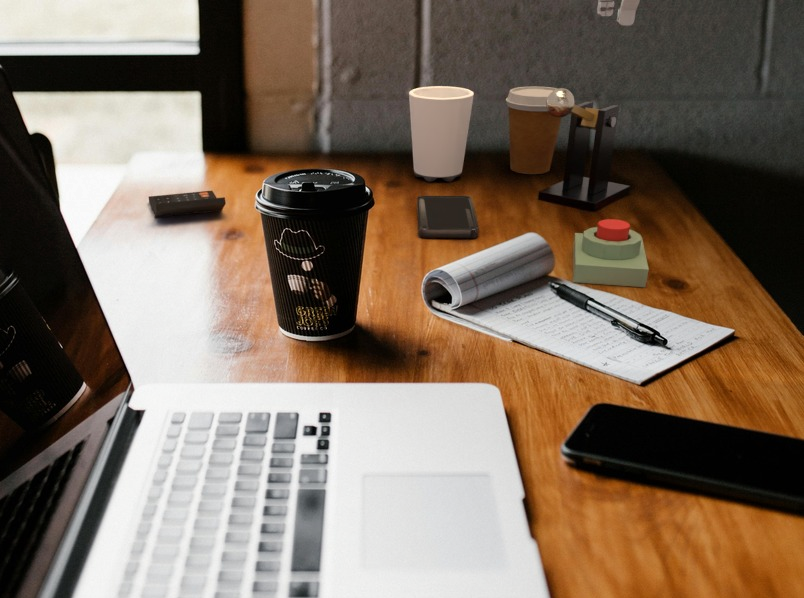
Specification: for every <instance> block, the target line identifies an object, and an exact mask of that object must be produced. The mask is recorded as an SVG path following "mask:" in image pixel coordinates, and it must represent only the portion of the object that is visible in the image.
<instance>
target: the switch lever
mask: <svg viewBox="0 0 804 598" xmlns="http://www.w3.org/2000/svg"><path fill="white" fill-rule="evenodd" d="M577 105H578V104H575V97H574V94H573V93H572V92H571V91H570V90H569V89H567V88H565V87H560V88H557V89H556V90H554V91H552V92H551V93H550V94H549V96H548V98H547V101H546V107H547V110H548V112H549V113H550V114H551V115H552V116H554V117H559V118H560V117H562V118H565V117H566V116H568V115H569V114H570V115H571V114H573V115H575V116H577V117H579V118H581V119H582V122H581V126H584V127H586V128H588V129H590V130H594V131H596V124H597V117H598V110H600V109H598V108H593V109H592V108H585V109H583V108H581V107H579V106H577Z"/></svg>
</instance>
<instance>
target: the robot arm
mask: <svg viewBox="0 0 804 598" xmlns="http://www.w3.org/2000/svg"><path fill="white" fill-rule="evenodd" d="M640 1H641V0H621V2H620V7H619V8H618V9H617V17H616V23H617V24H618V25H619V26H628V27H629V26H630V27H631V26H633V25H634V23H635V19H636V12H637V9H638V8H639V7H638V6H639V4H640ZM615 4H616V3H615V1H614V0H597V9H596V13H597V15H598V16H599V17H611V16H613V14H614V8H615Z"/></svg>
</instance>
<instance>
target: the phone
mask: <svg viewBox="0 0 804 598" xmlns="http://www.w3.org/2000/svg"><path fill="white" fill-rule="evenodd" d="M416 211H417V232H418V233H417V234H418V237H420V238H424V239H475V238H477V237H479V229H480V227H479V226H480V225H479V222H478V219H477V218H478V217H477V214H476V209H475V205H474V201H473V198H472V196H468V195H419V196H417V198H416Z"/></svg>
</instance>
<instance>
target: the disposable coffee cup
mask: <svg viewBox="0 0 804 598" xmlns="http://www.w3.org/2000/svg"><path fill="white" fill-rule="evenodd" d="M556 89H558V88H556V87H549V86H518V87H514V88H510V90H509V92H508V95H507V97H506V99H505V102H506V105H507V109H508V133H509V135H508V136H509V164H510V170H511V171H513V172H515V173H518V174H526V175H540V174H545V173H548V172H549V171H551V170H550V169H551V166H552V161H553V156H554V153H555V148H556V144H557V139H558V135H559V130H560V126H561V122H562V118H563V117H560V118H559V117H554V116H552V115H551V114H550V113H549V112H548V110H547V107H546V101H547V98H548V96H549V94H550V93H551V92H552V91H554V90H556Z"/></svg>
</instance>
